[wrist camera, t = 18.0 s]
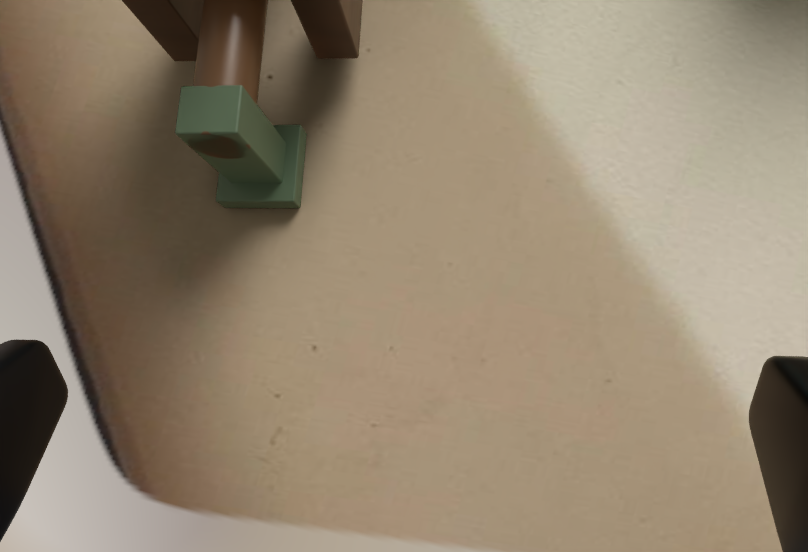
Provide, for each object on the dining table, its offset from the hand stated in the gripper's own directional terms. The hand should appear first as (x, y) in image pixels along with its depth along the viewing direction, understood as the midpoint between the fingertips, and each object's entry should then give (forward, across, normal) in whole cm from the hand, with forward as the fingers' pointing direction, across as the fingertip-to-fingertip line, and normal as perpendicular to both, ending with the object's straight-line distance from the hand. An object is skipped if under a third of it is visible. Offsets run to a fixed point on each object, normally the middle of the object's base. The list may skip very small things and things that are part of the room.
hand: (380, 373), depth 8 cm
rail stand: (+19, +7, 0) cm, 21 cm away
